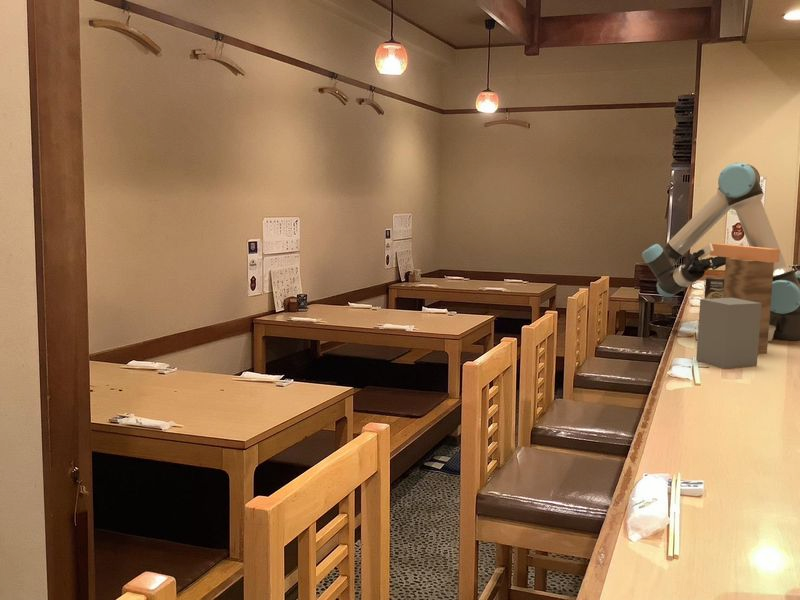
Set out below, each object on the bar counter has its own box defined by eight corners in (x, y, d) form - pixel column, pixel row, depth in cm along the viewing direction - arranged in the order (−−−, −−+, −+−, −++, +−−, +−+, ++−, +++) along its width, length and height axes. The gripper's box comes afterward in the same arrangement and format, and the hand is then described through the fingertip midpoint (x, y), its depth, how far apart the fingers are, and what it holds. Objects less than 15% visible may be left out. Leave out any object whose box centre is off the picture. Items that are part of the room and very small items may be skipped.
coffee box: (702, 316, 320) (705, 278, 317) (704, 314, 325) (706, 276, 323) (726, 318, 315) (729, 279, 313) (727, 316, 321) (730, 278, 319)
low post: (756, 366, 230) (761, 303, 227) (724, 368, 226) (728, 304, 223) (727, 357, 241) (732, 297, 239) (696, 360, 237) (700, 299, 235)
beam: (779, 262, 239) (780, 249, 238) (768, 262, 237) (769, 249, 237) (719, 255, 263) (720, 243, 262) (709, 255, 262) (710, 243, 261)
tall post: (766, 353, 249) (774, 260, 244) (741, 355, 245) (748, 261, 241) (743, 347, 258) (750, 257, 254) (719, 348, 255) (725, 258, 250)
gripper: (720, 281, 277) (761, 256, 259) (662, 283, 269) (700, 257, 251) (714, 262, 280) (754, 236, 261) (656, 263, 272) (694, 236, 253)
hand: (728, 246), depth 256 cm, fingers open, 13 cm apart
